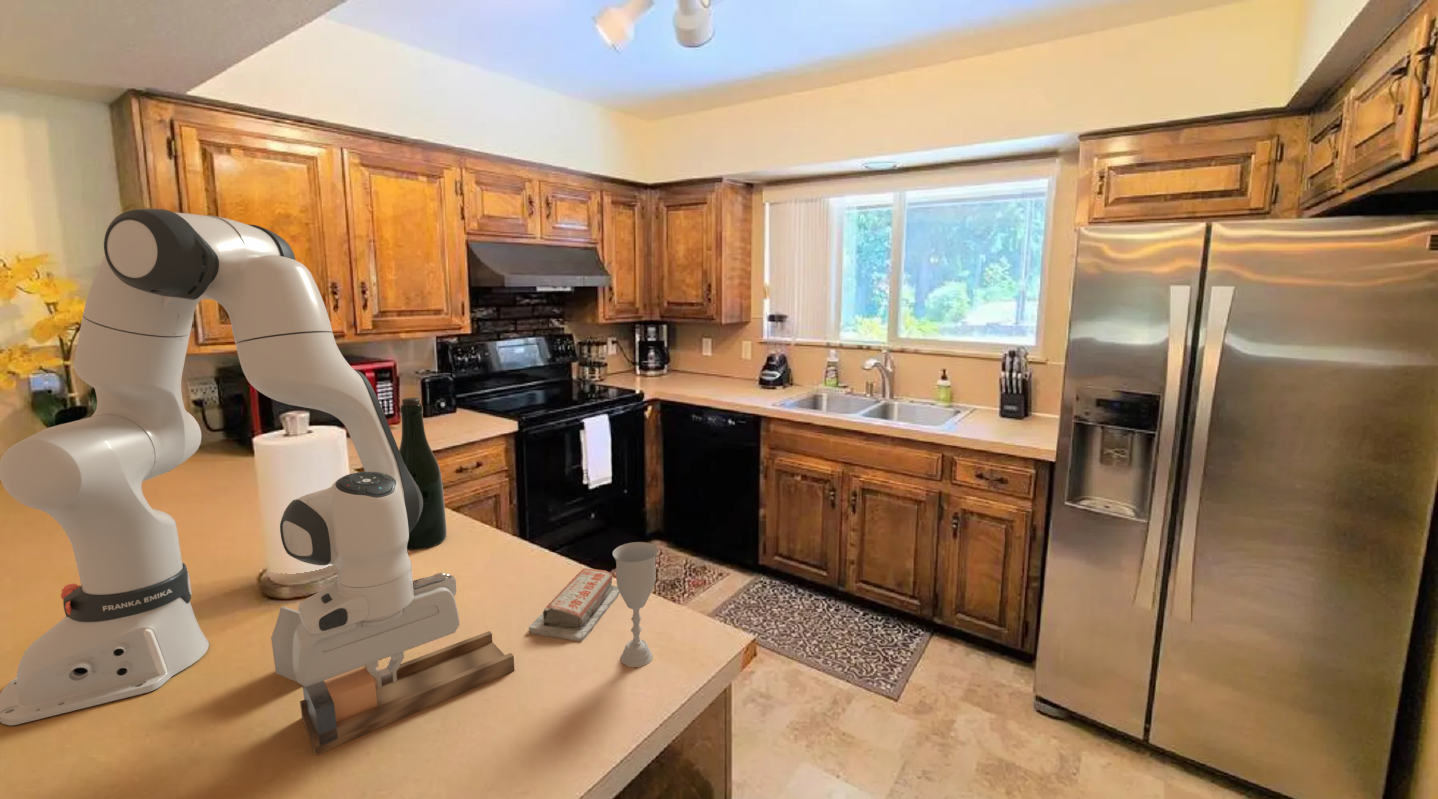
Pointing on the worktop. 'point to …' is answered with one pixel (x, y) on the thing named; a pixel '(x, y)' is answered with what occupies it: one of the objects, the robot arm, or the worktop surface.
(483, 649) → the track
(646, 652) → the chalice
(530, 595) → the worktop surface
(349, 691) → the orange block
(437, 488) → the beer bottle
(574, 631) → the packaged product
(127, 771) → the worktop surface
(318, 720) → the end stop
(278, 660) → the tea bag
